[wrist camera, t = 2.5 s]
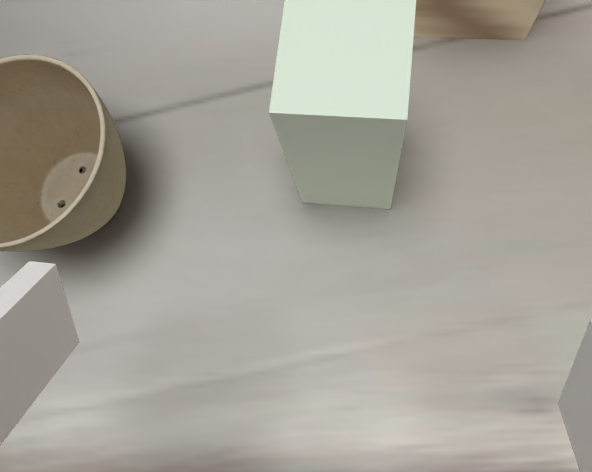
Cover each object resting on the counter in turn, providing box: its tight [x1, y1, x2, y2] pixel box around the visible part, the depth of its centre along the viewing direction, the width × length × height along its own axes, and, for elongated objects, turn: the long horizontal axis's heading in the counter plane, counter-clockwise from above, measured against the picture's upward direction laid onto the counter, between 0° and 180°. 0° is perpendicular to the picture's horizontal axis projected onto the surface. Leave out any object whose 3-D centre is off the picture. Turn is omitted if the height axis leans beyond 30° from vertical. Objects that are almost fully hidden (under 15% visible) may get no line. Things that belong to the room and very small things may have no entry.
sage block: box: [269, 0, 416, 209], centre depth 24 cm, size 5×5×11 cm
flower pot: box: [0, 54, 126, 251], centre depth 28 cm, size 10×10×7 cm
